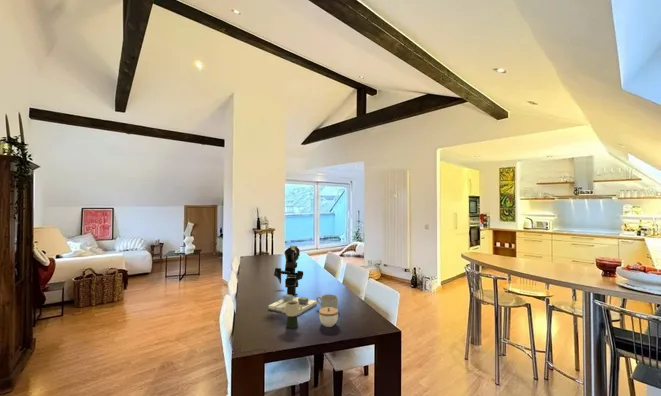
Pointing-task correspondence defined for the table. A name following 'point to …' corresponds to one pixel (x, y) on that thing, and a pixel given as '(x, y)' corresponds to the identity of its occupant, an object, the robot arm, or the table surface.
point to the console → (281, 303)
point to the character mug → (292, 313)
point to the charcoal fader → (303, 300)
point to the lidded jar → (328, 316)
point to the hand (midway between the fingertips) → (287, 284)
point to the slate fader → (287, 297)
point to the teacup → (328, 301)
